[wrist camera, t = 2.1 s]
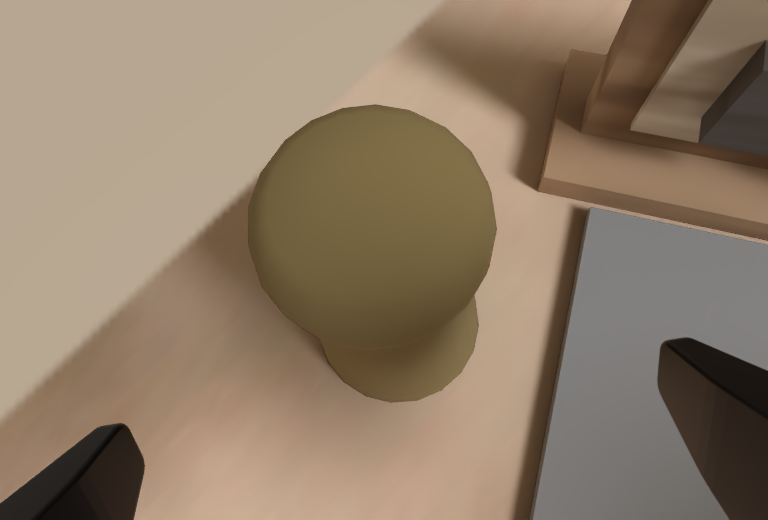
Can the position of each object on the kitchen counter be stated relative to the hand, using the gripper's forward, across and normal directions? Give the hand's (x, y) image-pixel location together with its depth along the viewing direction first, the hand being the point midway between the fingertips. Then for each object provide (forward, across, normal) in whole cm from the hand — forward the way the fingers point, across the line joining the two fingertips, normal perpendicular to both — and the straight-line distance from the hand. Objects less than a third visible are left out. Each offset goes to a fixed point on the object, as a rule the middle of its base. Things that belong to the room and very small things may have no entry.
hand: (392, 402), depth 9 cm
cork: (+10, 0, +5) cm, 11 cm away
